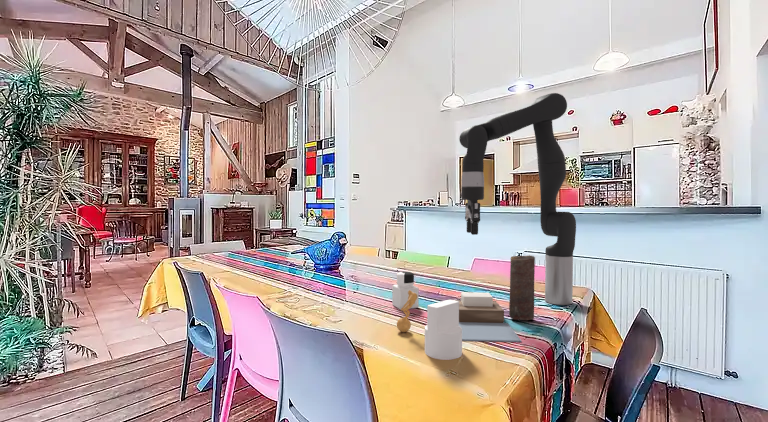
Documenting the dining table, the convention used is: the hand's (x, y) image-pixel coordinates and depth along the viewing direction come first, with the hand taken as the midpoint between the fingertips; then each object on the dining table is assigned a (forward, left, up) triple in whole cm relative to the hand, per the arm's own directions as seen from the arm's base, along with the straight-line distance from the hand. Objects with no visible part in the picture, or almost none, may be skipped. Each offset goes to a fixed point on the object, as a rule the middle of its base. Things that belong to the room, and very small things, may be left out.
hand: (472, 233), depth 134 cm
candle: (+11, +14, -26) cm, 32 cm away
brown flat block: (+10, 0, -26) cm, 28 cm away
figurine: (+26, -22, -26) cm, 43 cm away
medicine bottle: (-2, -23, -26) cm, 35 cm away
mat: (+24, 0, -26) cm, 35 cm away
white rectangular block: (+8, 0, -21) cm, 22 cm away
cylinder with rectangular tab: (+40, -13, -26) cm, 49 cm away
